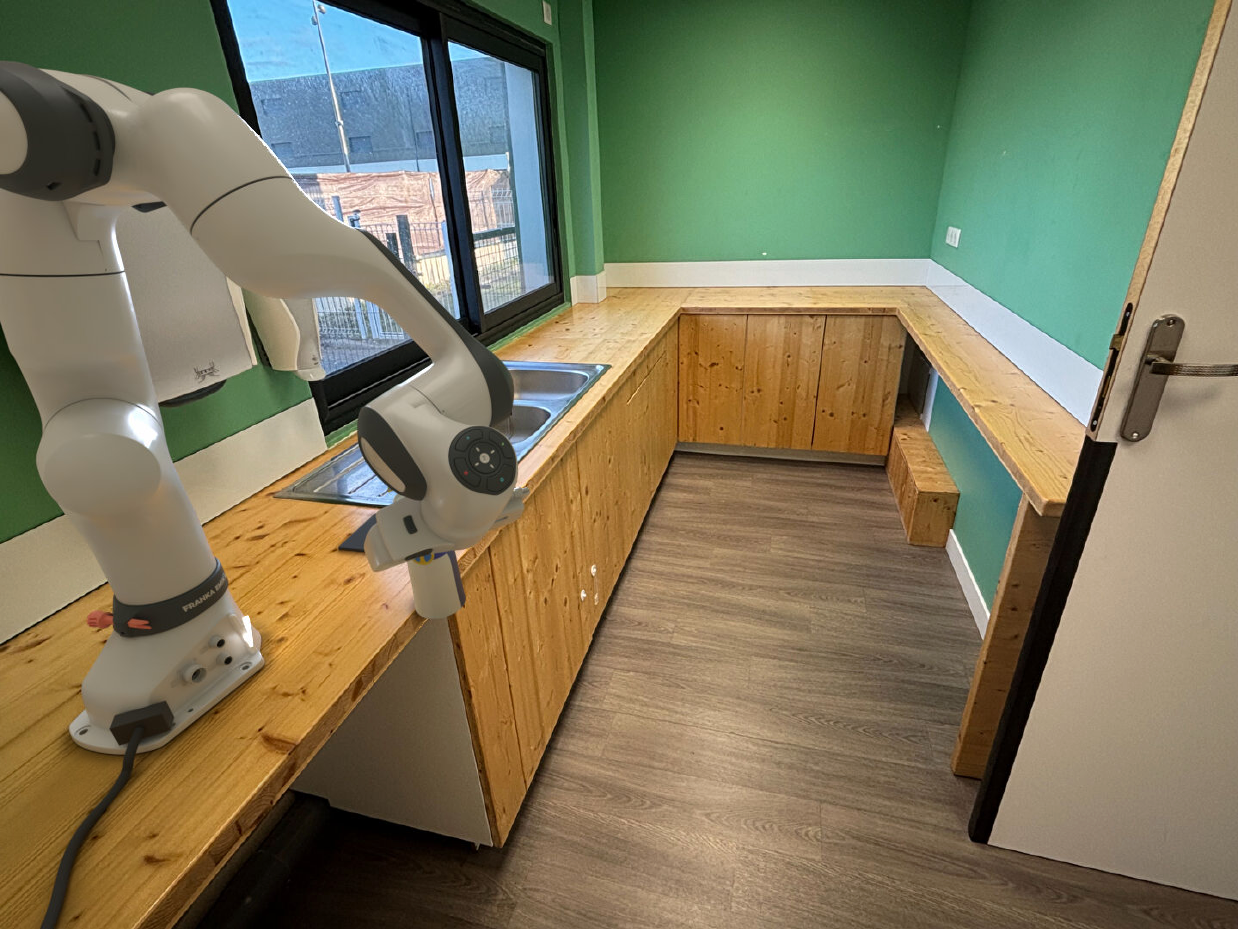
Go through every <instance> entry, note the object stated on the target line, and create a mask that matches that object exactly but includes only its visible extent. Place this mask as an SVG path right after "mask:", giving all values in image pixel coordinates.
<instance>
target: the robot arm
mask: <svg viewBox="0 0 1238 929" xmlns="http://www.w3.org/2000/svg"><path fill="white" fill-rule="evenodd" d="M165 207H167V208H168V209H170V211H171V212H172V213H173V214H174V216H175V217H176V218H177V219H178V221H179V222H180V223H181V225H182V226H183V228H184V229H185V230H186V231H187V233H188V234H189V235H190V237H191V238H192V239H193V240H194V242H195V244H197V246H198V247H199V248H200V249H201V250H202V252H203V253H204V254H205V256H207V258H208V259H209V260H210V262H211V263H212V264H214V266H215V267H216V268H217V269H218V270H219V271H220V272H221V273H222V274H223V275H225V277H226V278H228V280H229V281H231V282H232V283H234V284H235V285H236V286H238V287H240V288H242V289H244V290H246V291H248V292H251V293H254V294H256V295H259V296H263V297H266V298H272V299H279V300H293V301H295V300H296V301H297V300H310V299H322V298H352V299H357V300H358V299H359V300H362V301H365V302H368V303H371V304H373V305H375V306H377V307H379V308H380V309H381V310H383V311H384V312H385V313H386V314H387V315H388V316H389V317H390V318H391V319H392V320H393V321H394V322H395V323H396V324H397V325H398V326H399V327H400V328H401V329H402V330H403V331H404V332H405V333H406V334H407V335H408V336H409V337H410V338H411V339H412V340H413V341H414V342H415V343H416V344H417V345H418V346H419V348H421V349H422V350H423V351H424V353H426V354H427V355H428V357H429V358H430V359H431V364H429V365H428V366H427V367H425V368H424V369H422V370H420V371H419V372H417V373H415V374H414V375H413V376H411V377H409V378H408V379H406V380H404V381H403V382H401V383H399V384H396V385H395V386H393V387H391V388H390V389H389V390H387V391H385V392H384V393H381V394H380V395H379V396H377V397H376V398H374V399H373V400H371V401H370V402H368V403H367V404H365V405H364V406H362V407H360V411H359V413H358V416H357V422H356V434H357V435H356V436H357V445H358V448H359V451H360V453H361V456H362V458H363V461H365V464H366V465H367V466H368V468H369V469H370V470H371V472H372V473H373V474H374V475H375V476H376V478H378V480H380V481H381V482H382V483H383V484H384V485H385V486H386V487H387V488H388V487H389V488H390V489H391V490H393V491H392V492H394V493H396V494H399V495H401V496H404V497H405V498H403V499H401V500H399V501H397V502H395V503H393V502H392V503H390V504H388V505H387V506H384V507H382V508H380V509H379V510H377V511H376V520H377V523H376V524H375V525H374V526H372V528H371V529H370V530H369V532H368V534H367V536H366V539H365V543H364V550H365V552H364V554H365V556H366V559H367V562H368V564H369V566H370V568H371V570H372V572H373V573H380V572H381V573H382V572H384V571H386V570H389V569H392V568H394V567H397V566H399V565H403V564H405V563H407V562H408V561H410V560H413V559H416V558H419V557H422V556H426V555H429V554H433V553H441V552H447V551H451V550H453V551H455V552H456V551H464V550H467V549H470V548H472V547H474V546H476V545H478V544H479V543H480V542H481V541H482V540H483V539H484V538H485V537H486V535H487V534H488V533H490V532H491V531H494V530H496V529H497V530H498V529H500V528H502V527H505V526H507V525H510V524H512V523H514V522H516V521H518V520H519V519H520V518H521V516H522V515H523V513H524V511H525V504H524V500H526V499H527V498H528V496H529V495H530V494H531V491H530V488H529V487H528V486H526V487H523V488H522V487H520V486H519V487H518V486H516V485H517V482H518V478H519V462H518V457H517V453H516V450H515V447H514V446H513V444H512V442H511V441H510V440H509V438H508V437H507V436H506V435H505V434H504V433H502V431H500V430H498V429H496V427H497V426H499V425H502V423H504V422H506V421H508V419H509V418H510V417H511V415H512V411H513V407H514V401H515V383H514V378H513V376H512V373H511V372H510V370H509V368H508V366H506V364H504V362H503V361H502V360H501V359H500V358H499V357H498V356H497V355H496V354H495V353H494V352H492V350H490V349H489V348H487V346H485V345H483V343H481V342H480V341H479V340H478V339H476V337H474V336H473V335H472V334H471V333H470V332H468V330H467V329H465V327H464V326H463V325H462V324H461V323H460V322H459V321H458V320H457V319H456V318H455V317H454V316H453V315H452V313H450V312H449V311H448V310H447V308H446V307H445V305H443V304H442V303H441V302H440V301H439V300H438V299H437V298H436V297H435V295H434V294H433V293H432V292H431V291H430V290H429V289H428V288H427V287H426V286H425V285H424V283H422V282H421V281H420V279H419V278H418V277H417V276H416V275H415V274H414V273H413V272H412V271H411V270H410V269H409V268H408V267H407V266H406V265H405V263H404V262H402V261H401V260H400V259H399V258H398V257H397V255H395V253H394V252H392V251H391V249H389V247H387V246H386V245H385V244H384V243H383V242H382V241H381V240H380V239H379V238H378V237H376V236H375V235H374V234H372V233H371V232H370V231H368V230H366V229H364V228H362V227H357V226H352V225H349V224H346V223H345V222H343V221H341V220H339V219H338V218H336V217H335V216H333V215H331V214H330V213H328V212H327V211H326V210H325V209H323V208H322V207H321V206H319V204H317V203H316V202H315V201H313V200H312V199H311V198H310V197H309V196H308V194H307V193H305V191H304V190H303V189H302V188H301V186H300V185H299V184H298V183H297V181H296V180H295V179H294V177H293V175H292V174H291V173H290V172H289V171H288V169H287V168H286V166H285V165H284V164H283V163H282V161H281V160H280V159H279V158H278V157H277V155H276V154H275V153H274V152H273V150H271V148H270V147H269V146H268V145H267V143H265V142H264V140H263V139H262V138H261V136H260V135H258V134H257V133H256V132H255V130H254V129H252V127H251V126H250V125H249V124H248V123H247V122H246V121H245V120H244V119H243V118H242V117H241V116H240V115H239V114H238V113H237V112H236V111H235V110H234V109H232V108H231V106H230V105H228V104H227V103H226V102H225V101H224V100H222V99H221V98H220V97H218V96H216V95H215V94H212V93H211V92H208V91H206V90H203V89H202V90H201V89H199V88H193V87H175V88H170V89H165V90H162V91H160V92H157V93H155V92H151V91H148V90H147V91H146V90H139V89H136V88H134V87H131V86H128V85H126V84H123V83H120V82H117V81H113V80H112V79H111V80H110V79H107V78H104V77H100V76H96V75H92V74H85V73H80V74H79V73H78V74H77V73H72V72H68V71H67V72H66V71H62V70H55V69H48V68H47V69H46V68H37V67H35V66H33V65H31V64H27V63H24V62H19V61H10V60H0V325H1V328H2V331H3V334H4V338H5V340H6V343H7V347H8V350H9V352H10V354H11V355H12V356H13V358H14V360H15V361H16V363H17V365H18V367H19V369H20V371H21V373H22V375H23V377H24V379H25V382H26V383H27V386H28V389H29V390H30V392H31V395H32V397H33V399H34V403H35V404H36V407H37V409H38V412H39V416H40V419H41V426H42V436H41V438H40V442H39V445H38V448H37V451H36V457H35V463H36V469H37V471H38V475H39V477H40V480H41V482H42V484H43V486H44V488H45V489H46V491H47V492H48V494H49V495H50V497H51V498H52V499H53V500H54V501H55V502H56V503H57V505H58V506H59V508H60V509H61V510H62V512H63V513H64V515H65V516H66V518H67V519H68V520H69V522H70V523H71V524H72V526H73V527H74V528H75V530H76V531H77V532H78V533H79V534H80V535H81V537H82V538H83V539H84V541H85V542H86V544H87V545H88V547H89V549H90V550H91V551H92V553H93V556H94V558H95V560H96V561H97V563H98V565H99V567H100V569H101V571H102V573H103V575H104V577H105V578H106V581H107V583H108V584H109V586H110V588H111V590H112V592H113V597H112V610H111V611H112V612H110V611H101V610H93V611H92V612H91V611H90V613H89V614H88V615H87V617H86V620H85V622H86V625H87V626H88V627H89V628H99V629H101V630H102V629H104V630H105V629H108V628H109V627H111V626H112V629H113V630H112V632H111V634H110V635H109V637H108V639H107V640H106V642H105V643H104V646H103V647H102V649H101V650H100V652H99V654H98V656H97V657H96V659H95V661H94V662H93V664H92V666H91V668H90V669H89V671H88V672H87V674H86V676H85V677H84V678H83V680H82V683H81V685H80V686H81V688H80V693H81V699H82V703H83V707H84V710H83V711H82V712H81V713H80V714H78V716H76V718H75V719H74V720H73V721H72V722H71V723H70V724H69V726H68V730H69V734H70V737H71V739H72V741H73V742H74V743H75V744H76V745H77V746H79V747H82V748H83V749H86V750H89V751H92V752H95V753H101V754H107V755H108V754H109V755H119V756H120V755H123V758H122V767H121V770H120V772H119V775H118V777H117V779H116V780H115V782H114V783H113V785H112V787H111V788H110V790H109V791H108V792H107V793H106V795H105V796H104V797H103V798H102V800H101V801H100V802H99V803H98V804H97V805H96V806H95V807H94V809H92V811H91V812H90V813H89V814H88V815H87V816H86V817H85V818H84V820H83V821H82V822H81V823H80V825H79V826H78V828H77V829H76V831H75V832H74V834H72V837H71V838H70V840H69V842H68V844H67V846H66V848H65V850H64V852H63V855H62V857H61V859H60V862H59V865H58V868H57V872H56V876H55V879H54V884H53V888H52V891H51V895H50V899H49V903H48V906H47V909H46V912H45V914H44V918H43V919H42V922H41V925H40V927H39V929H55V926H56V924H57V921H58V919H59V916H60V914H61V911H62V908H63V904H64V900H65V896H66V893H67V888H68V883H69V880H70V875H71V871H72V868H73V864H74V862H75V859H76V856H77V853H78V851H79V849H80V847H81V844H82V842H83V841H84V839H85V838H86V836H87V834H88V833H89V831H90V830H91V828H92V827H93V826H94V825H95V823H96V822H97V821H98V820H99V819H100V817H101V816H102V815H103V814H104V813H105V812H106V810H107V809H108V808H109V807H110V805H111V804H112V803H113V801H114V800H115V799H116V797H117V796H118V795H119V794H120V792H121V791H122V790H123V788H124V787H125V786H126V784H127V782H128V781H129V779H130V777H131V774H132V772H133V769H134V764H135V758H136V754H141V753H147V752H150V751H153V750H158V749H160V748H162V747H164V746H165V745H166V744H168V743H169V742H170V741H172V740H173V739H174V738H175V737H177V736H178V735H180V733H182V732H184V730H185V729H187V728H188V727H189V726H190V725H192V724H193V723H194V722H196V721H197V720H198V719H200V718H201V717H202V716H203V715H204V714H206V713H207V712H208V711H209V710H210V709H212V708H213V707H214V706H216V705H217V704H218V703H219V702H221V701H222V700H223V699H225V698H226V697H227V696H228V695H229V694H231V693H232V692H233V691H235V690H236V689H237V688H238V687H239V686H241V685H242V684H243V683H245V682H246V681H247V680H249V678H251V677H252V676H254V674H256V673H257V672H258V671H260V670H261V669H262V668H263V667H264V666H265V661H266V660H265V658H264V656H263V655H262V653H261V647H262V636H261V633H260V632H259V630H258V629H257V628H255V626H254V625H253V624H252V623H251V619H250V617H249V615H245V614H244V613H243V612H242V610H241V608H240V607H239V606H238V604H237V603H236V601H235V599H234V597H233V595H232V593H231V591H230V589H229V588H228V587H229V579H228V576H227V574H226V572H225V569H224V567H223V565H222V563H221V561H220V559H219V558H218V557H216V556H214V553H213V550H212V548H211V545H210V543H209V540H208V538H207V536H206V533H205V530H204V528H203V525H202V523H201V521H200V518H199V515H198V513H197V511H196V509H195V508H194V505H193V503H192V501H191V499H190V498H189V495H188V493H187V491H186V489H185V487H184V484H183V483H182V481H181V478H180V476H179V473H178V470H177V469H176V467H175V464H174V462H173V459H172V457H171V454H170V451H169V447H168V444H167V439H166V433H165V427H164V422H163V418H162V414H161V409H160V407H159V402H158V397H157V394H156V390H155V387H154V382H153V378H152V375H151V371H150V367H149V363H148V359H147V355H146V351H145V347H144V344H143V340H142V336H141V331H140V327H139V323H138V319H137V315H136V311H135V307H134V302H133V298H132V294H131V290H130V286H129V282H128V278H127V274H126V271H125V266H124V263H123V259H122V255H121V252H120V249H119V245H118V241H117V233H116V225H117V221H118V219H119V217H120V215H121V214H122V213H123V212H124V211H125V210H127V209H128V208H132V209H134V210H136V211H137V212H139V213H144V214H146V213H151V212H153V211H156V210H159V209H162V208H165Z"/></svg>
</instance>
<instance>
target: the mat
mask: <svg viewBox="0 0 1238 929" xmlns="http://www.w3.org/2000/svg"><path fill="white" fill-rule="evenodd" d="M376 513H377V512H376ZM376 513H374V514H373V515H371V516H370V517H368V519H367V520H365V522H364V523H362V524H361V525H360V526H359V527H358V528H357V529H356V530H354V532H352V533H351V534H350V535H349V536H348V537H347V538H346V539H345V540H344V541H342V543H340V544H339V545H338V546H337V549H338V551H349V552H360V553H365V550H364V543H365V539H366V536H367V534H368V532H369V530H370V529H371V528H372V526H374V525H375V524H376V523H377V520H376Z"/></svg>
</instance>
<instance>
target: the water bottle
mask: <svg viewBox="0 0 1238 929" xmlns="http://www.w3.org/2000/svg"><path fill="white" fill-rule="evenodd" d="M391 492H394V491H393V490H391V489H390V488H389V487H388V486H387V493H391ZM403 498H405V497H404V496H401V495H399V494H397V493H396V495H394V497H393V499H392V503H395V502H397V501H399V500H401V499H403ZM406 563H407V564H406V566H407V570H408V575H409V579H410V583H411V589H412V594H413V601H414V607H415V611H416V612H415V613H417V614H418V615H419V617H422V618H424V619H428V620H429V619H430V620H439V619H443V618H444V619H445V618H447V617H450V616H452V615H454V614H455V613H457V612H459V611H460V610H461V609H462V608H463V607H464V606H465V604H466V601H467V595H466V592H465V589H464V588H465V587H464V584H463V580H462V576H461V572H460V568H459V563H458V557H457V553H456V551H453V550H451V551H447V552H441V553H433V554H429V555H426V556H422V557H419V558H416V559H413V560H410V561H408V562H406Z"/></svg>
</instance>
